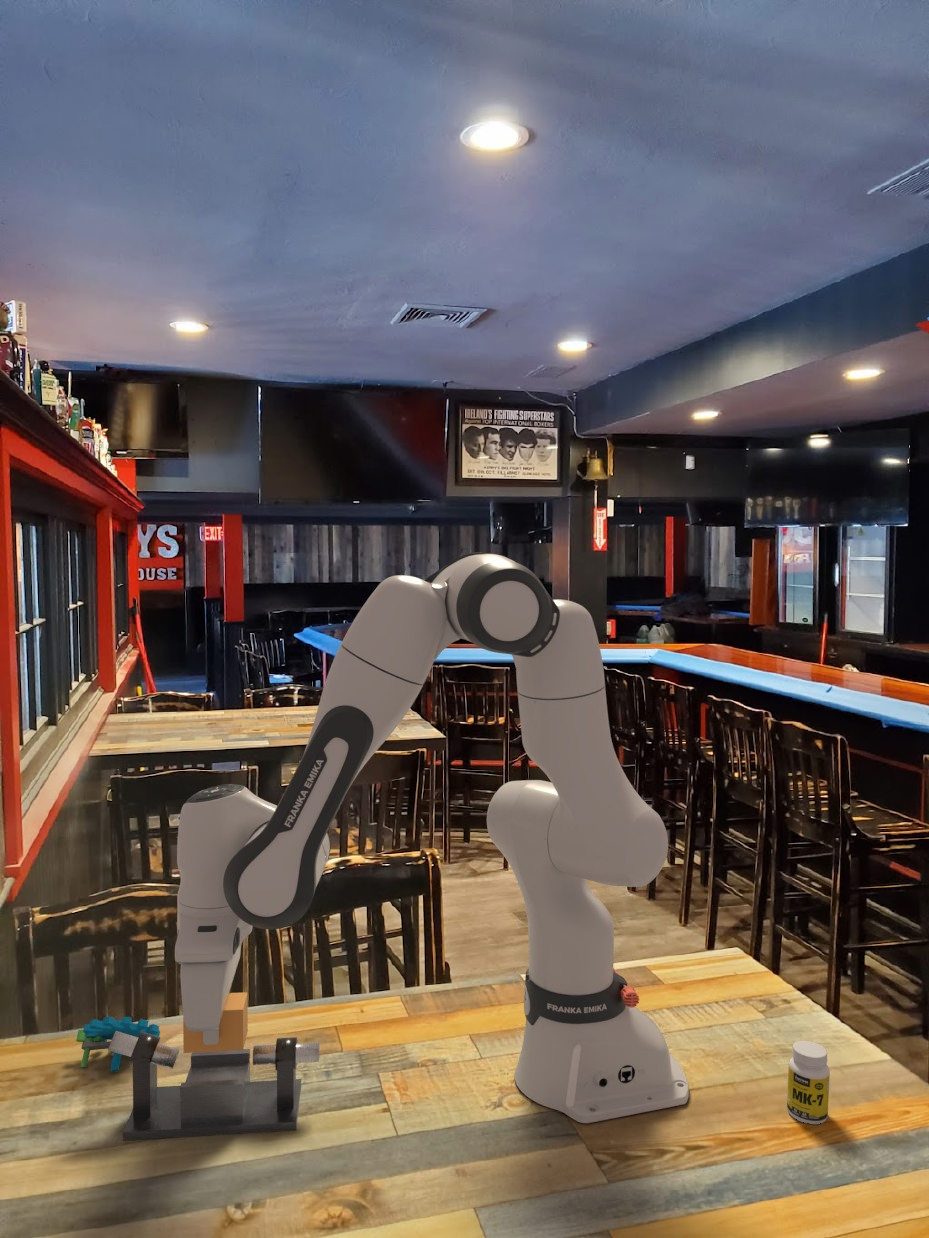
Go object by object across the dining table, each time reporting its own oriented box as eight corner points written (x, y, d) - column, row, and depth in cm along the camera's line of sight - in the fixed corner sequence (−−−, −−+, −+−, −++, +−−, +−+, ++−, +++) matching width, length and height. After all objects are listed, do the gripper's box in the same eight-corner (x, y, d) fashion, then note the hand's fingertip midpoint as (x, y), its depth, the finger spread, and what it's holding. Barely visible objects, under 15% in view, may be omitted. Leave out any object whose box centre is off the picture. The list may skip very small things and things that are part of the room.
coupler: (183, 1052, 107) (183, 1005, 106) (190, 1033, 111) (189, 988, 111) (243, 1049, 108) (243, 1002, 107) (247, 1030, 112) (247, 985, 112)
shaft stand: (320, 1085, 116) (320, 1004, 115) (317, 1128, 107) (317, 1041, 106) (119, 1096, 113) (118, 1013, 112) (99, 1141, 104) (97, 1052, 103)
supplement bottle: (786, 1120, 110) (788, 1054, 109) (786, 1099, 114) (789, 1035, 113) (828, 1129, 108) (831, 1062, 107) (827, 1107, 112) (829, 1042, 112)
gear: (172, 1032, 126) (143, 1008, 118) (165, 1077, 122) (134, 1056, 114) (98, 1038, 126) (64, 1015, 119) (87, 1084, 122) (52, 1063, 115)
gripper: (203, 888, 118) (203, 990, 119) (171, 955, 98) (172, 1076, 99) (251, 887, 119) (252, 988, 120) (230, 952, 99) (230, 1073, 100)
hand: (215, 1029), depth 109 cm, fingers closed on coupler, 4 cm apart
